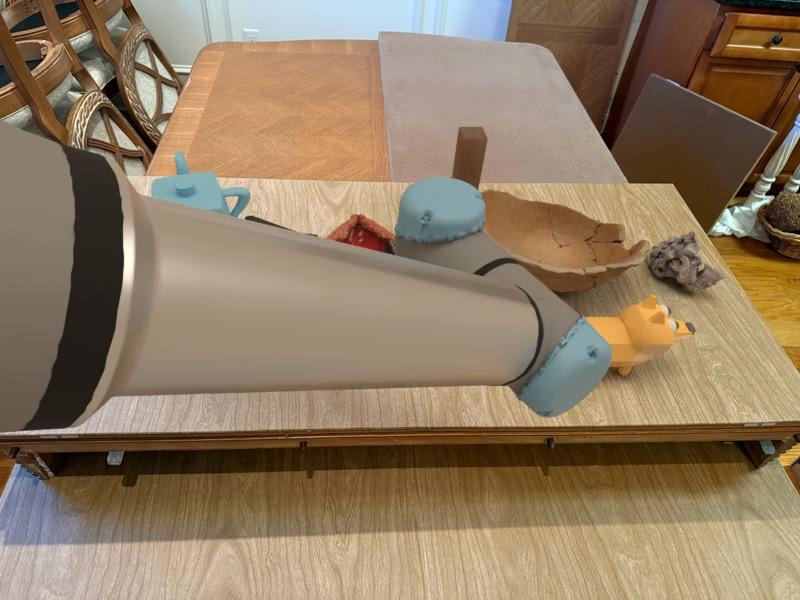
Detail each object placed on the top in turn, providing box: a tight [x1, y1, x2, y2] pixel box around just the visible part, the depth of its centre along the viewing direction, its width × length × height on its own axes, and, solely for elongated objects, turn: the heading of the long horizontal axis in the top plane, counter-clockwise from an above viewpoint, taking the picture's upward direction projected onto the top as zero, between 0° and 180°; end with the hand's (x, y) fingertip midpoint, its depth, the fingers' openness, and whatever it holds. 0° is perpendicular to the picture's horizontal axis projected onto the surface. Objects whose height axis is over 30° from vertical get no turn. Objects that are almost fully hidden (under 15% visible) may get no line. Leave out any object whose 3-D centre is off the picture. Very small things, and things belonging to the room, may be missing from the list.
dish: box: [326, 213, 395, 255], centre depth 89 cm, size 16×31×5 cm, turn 3°
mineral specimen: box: [647, 230, 727, 292], centre depth 95 cm, size 12×9×10 cm
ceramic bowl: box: [479, 188, 651, 293], centre depth 93 cm, size 30×27×15 cm
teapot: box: [150, 150, 252, 218], centre depth 92 cm, size 18×16×14 cm
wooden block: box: [450, 126, 488, 191], centre depth 101 cm, size 9×4×18 cm, turn 96°
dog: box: [585, 294, 697, 376], centre depth 77 cm, size 8×20×13 cm, turn 93°
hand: (165, 237), depth 63 cm, fingers closed on beverage cup, 6 cm apart
